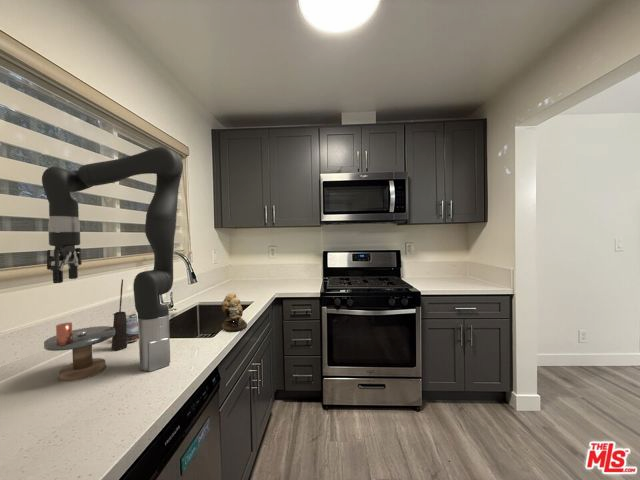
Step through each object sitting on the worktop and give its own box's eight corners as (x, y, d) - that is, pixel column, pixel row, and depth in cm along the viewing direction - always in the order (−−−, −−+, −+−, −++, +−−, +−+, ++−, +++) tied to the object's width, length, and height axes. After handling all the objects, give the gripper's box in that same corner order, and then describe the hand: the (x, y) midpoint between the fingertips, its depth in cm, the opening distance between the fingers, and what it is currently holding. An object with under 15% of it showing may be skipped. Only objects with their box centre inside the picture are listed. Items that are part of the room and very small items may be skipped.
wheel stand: (109, 371, 93) (107, 339, 93) (60, 385, 84) (58, 351, 84) (102, 360, 101) (101, 331, 101) (57, 372, 92) (56, 341, 92)
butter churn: (112, 356, 105) (109, 282, 104) (97, 352, 109) (94, 281, 108) (136, 346, 113) (134, 278, 113) (121, 343, 117) (119, 278, 117)
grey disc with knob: (71, 332, 100) (70, 311, 100) (125, 328, 103) (125, 308, 103) (26, 353, 82) (25, 328, 82) (93, 348, 85) (92, 324, 85)
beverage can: (131, 344, 116) (130, 316, 116) (116, 343, 118) (115, 315, 117) (143, 339, 122) (142, 312, 122) (129, 338, 124) (128, 311, 124)
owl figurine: (251, 330, 131) (250, 294, 131) (225, 334, 125) (224, 297, 125) (242, 320, 147) (241, 288, 146) (219, 324, 141) (218, 290, 141)
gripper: (63, 231, 95) (64, 278, 96) (35, 230, 82) (36, 285, 82) (89, 231, 97) (90, 277, 98) (66, 230, 84) (67, 283, 84)
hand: (66, 280), depth 90 cm, fingers open, 8 cm apart
